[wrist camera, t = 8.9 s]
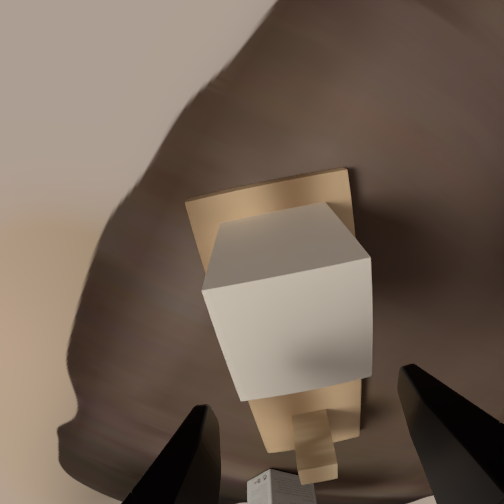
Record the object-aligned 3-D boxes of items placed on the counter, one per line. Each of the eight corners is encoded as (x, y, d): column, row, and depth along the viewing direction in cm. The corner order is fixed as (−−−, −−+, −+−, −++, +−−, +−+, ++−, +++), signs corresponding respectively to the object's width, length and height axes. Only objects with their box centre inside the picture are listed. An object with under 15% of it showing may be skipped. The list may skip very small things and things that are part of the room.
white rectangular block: (336, 292, 17) (371, 376, 11) (243, 310, 18) (241, 401, 12) (324, 201, 15) (370, 257, 9) (220, 222, 16) (201, 290, 10)
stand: (342, 167, 15) (388, 193, 10) (357, 429, 24) (371, 482, 19) (187, 198, 16) (157, 239, 11) (267, 446, 25) (270, 501, 19)
